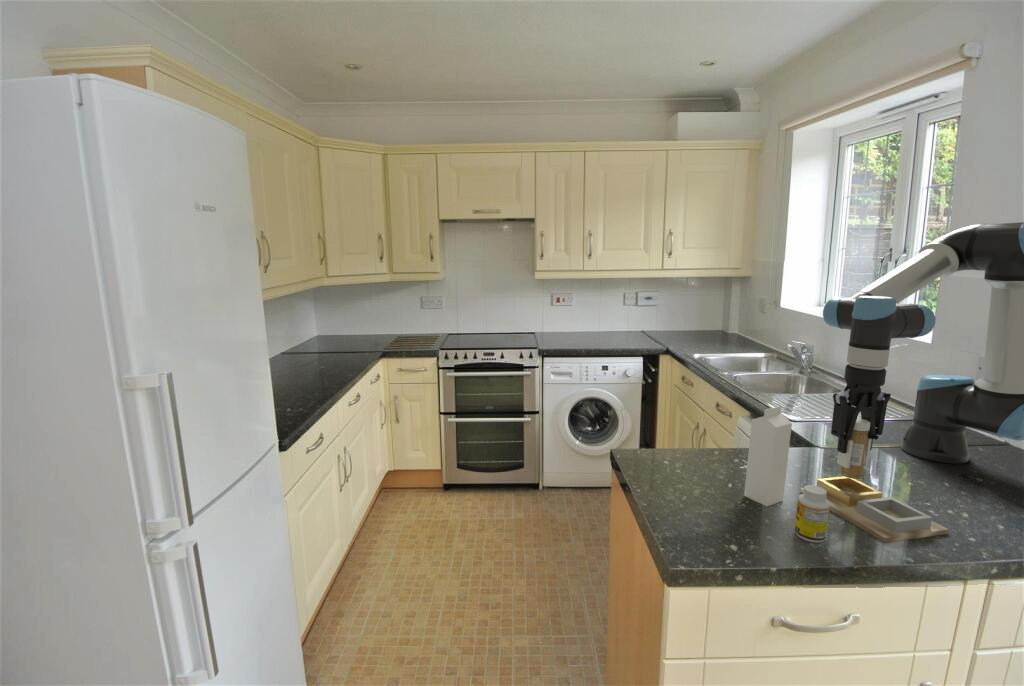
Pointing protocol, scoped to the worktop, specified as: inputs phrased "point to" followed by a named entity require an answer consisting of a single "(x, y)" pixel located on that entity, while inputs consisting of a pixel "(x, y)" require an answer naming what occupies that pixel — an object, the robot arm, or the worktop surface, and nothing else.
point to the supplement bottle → (812, 514)
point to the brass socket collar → (845, 498)
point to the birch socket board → (875, 528)
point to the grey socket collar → (909, 523)
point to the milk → (768, 457)
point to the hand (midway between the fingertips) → (852, 464)
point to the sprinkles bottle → (857, 450)
